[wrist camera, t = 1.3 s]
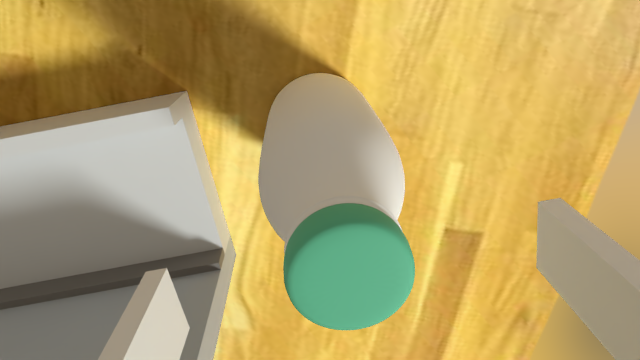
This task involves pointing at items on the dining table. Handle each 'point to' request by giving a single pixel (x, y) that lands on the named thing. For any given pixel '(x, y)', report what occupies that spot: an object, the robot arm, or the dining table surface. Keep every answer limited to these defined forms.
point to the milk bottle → (335, 203)
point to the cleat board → (107, 227)
